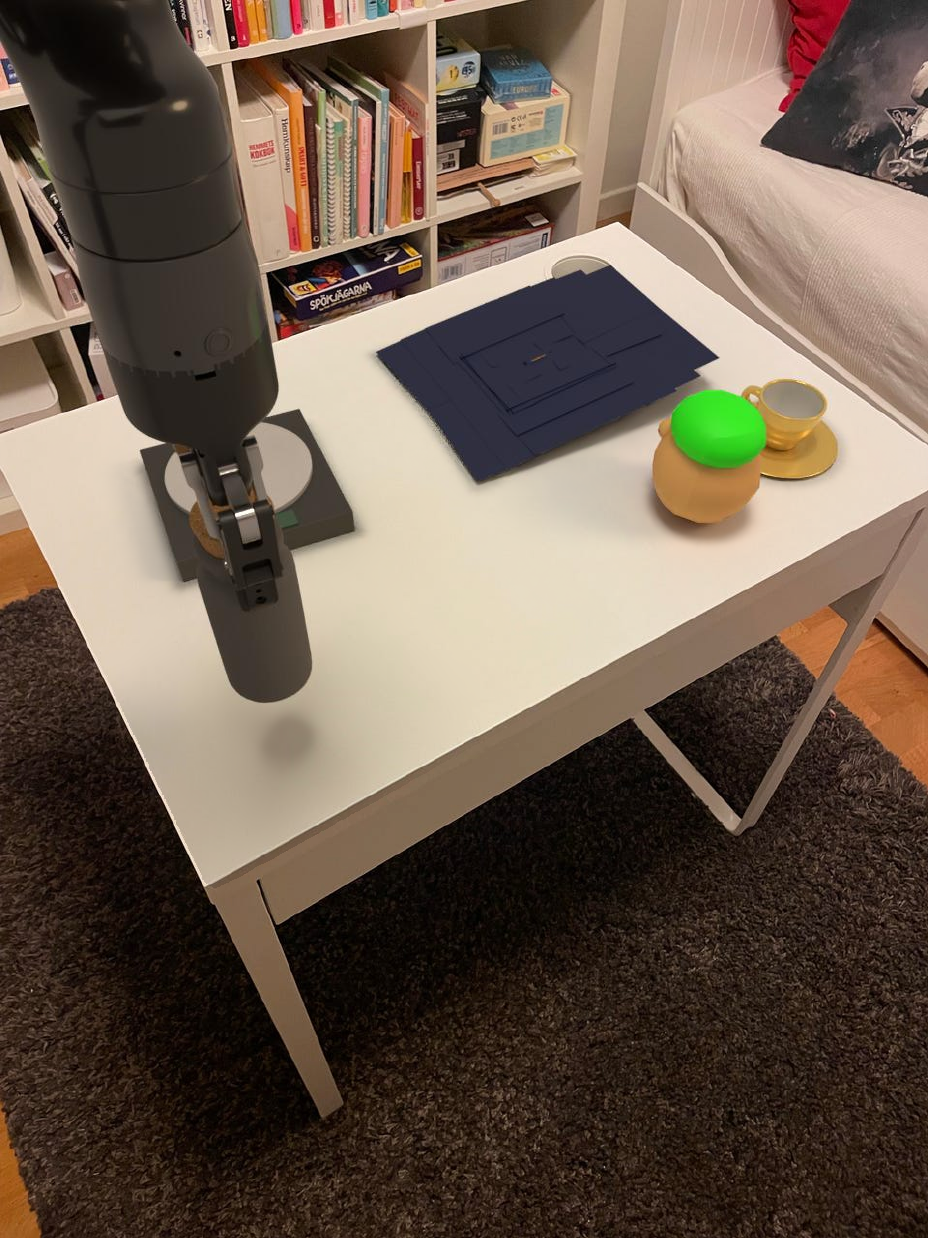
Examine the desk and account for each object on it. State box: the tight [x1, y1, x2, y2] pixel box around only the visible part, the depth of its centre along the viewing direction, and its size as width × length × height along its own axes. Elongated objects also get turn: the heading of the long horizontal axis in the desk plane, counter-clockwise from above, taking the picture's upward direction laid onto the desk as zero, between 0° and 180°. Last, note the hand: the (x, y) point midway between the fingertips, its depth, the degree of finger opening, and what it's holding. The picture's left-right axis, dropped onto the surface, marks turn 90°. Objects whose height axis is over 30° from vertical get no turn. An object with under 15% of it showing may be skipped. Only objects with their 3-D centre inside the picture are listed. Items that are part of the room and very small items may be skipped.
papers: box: [375, 264, 720, 482], centre depth 97 cm, size 24×30×4 cm
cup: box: [740, 378, 839, 479], centre depth 89 cm, size 12×12×5 cm
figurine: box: [651, 389, 766, 524], centre depth 81 cm, size 11×10×12 cm
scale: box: [139, 408, 355, 582], centre depth 84 cm, size 16×16×3 cm
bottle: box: [189, 488, 313, 704], centre depth 56 cm, size 6×6×15 cm
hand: (244, 565), depth 53 cm, fingers closed on bottle, 5 cm apart
